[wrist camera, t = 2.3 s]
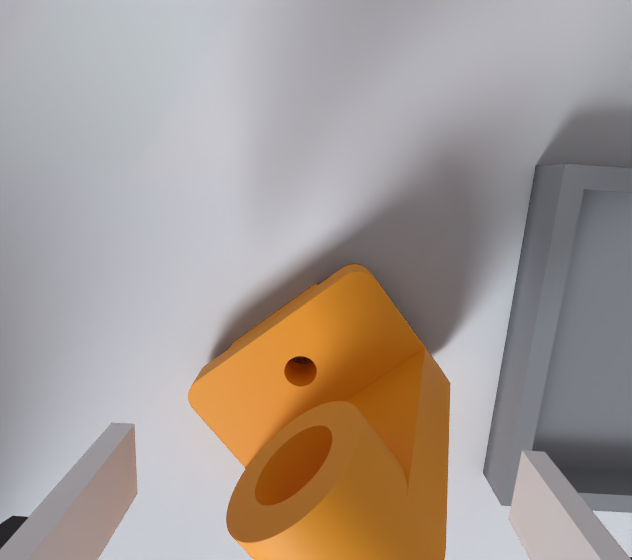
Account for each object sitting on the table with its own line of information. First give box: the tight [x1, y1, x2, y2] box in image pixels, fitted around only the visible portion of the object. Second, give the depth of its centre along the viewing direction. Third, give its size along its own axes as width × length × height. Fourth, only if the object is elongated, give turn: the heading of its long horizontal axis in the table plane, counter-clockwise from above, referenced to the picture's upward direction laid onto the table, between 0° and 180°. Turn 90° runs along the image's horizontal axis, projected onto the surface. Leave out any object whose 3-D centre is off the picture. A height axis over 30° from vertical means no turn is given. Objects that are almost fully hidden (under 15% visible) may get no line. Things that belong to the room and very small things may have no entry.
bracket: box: [188, 264, 450, 560], centre depth 17 cm, size 11×7×12 cm, turn 126°
